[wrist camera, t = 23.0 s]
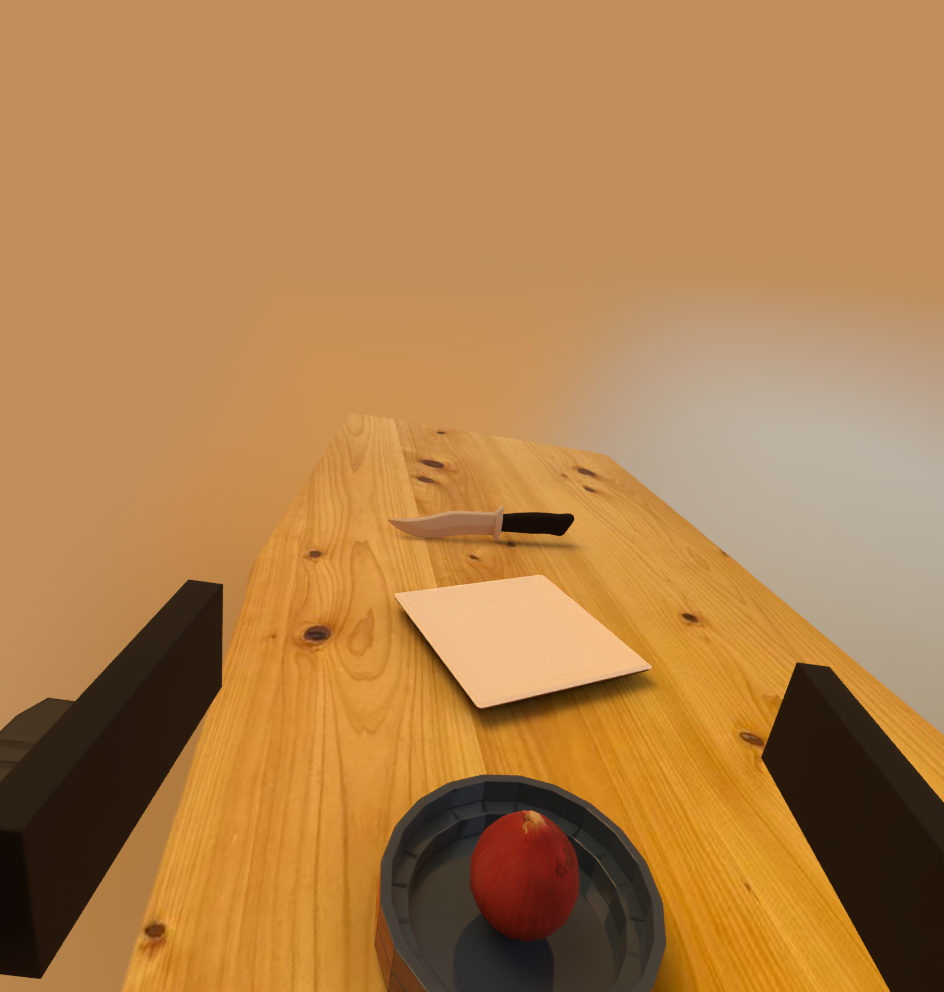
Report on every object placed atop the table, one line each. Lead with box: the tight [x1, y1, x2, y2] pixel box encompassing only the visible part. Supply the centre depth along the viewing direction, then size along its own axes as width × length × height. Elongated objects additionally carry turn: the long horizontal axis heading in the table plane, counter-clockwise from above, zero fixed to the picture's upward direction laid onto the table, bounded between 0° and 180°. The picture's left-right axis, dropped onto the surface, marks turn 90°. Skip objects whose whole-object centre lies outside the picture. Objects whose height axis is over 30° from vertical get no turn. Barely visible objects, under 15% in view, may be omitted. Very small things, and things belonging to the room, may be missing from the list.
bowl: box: [375, 775, 666, 992], centre depth 35 cm, size 15×15×4 cm
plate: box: [394, 575, 651, 710], centre depth 63 cm, size 19×19×2 cm
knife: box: [388, 507, 574, 541], centre depth 85 cm, size 25×2×5 cm, turn 100°
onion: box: [470, 810, 580, 942], centre depth 35 cm, size 6×6×8 cm
